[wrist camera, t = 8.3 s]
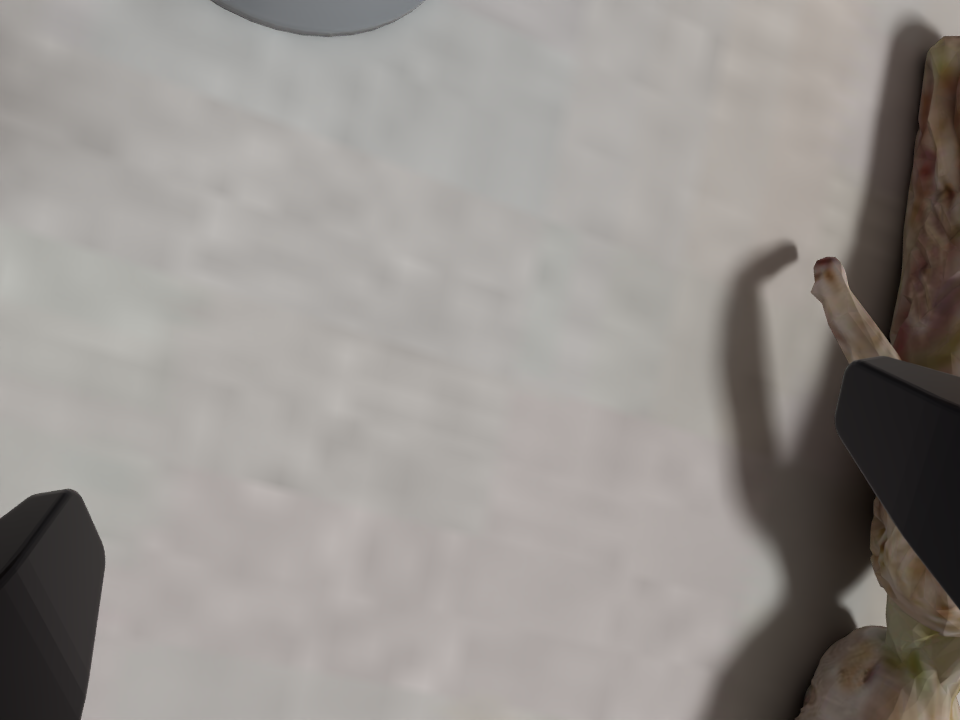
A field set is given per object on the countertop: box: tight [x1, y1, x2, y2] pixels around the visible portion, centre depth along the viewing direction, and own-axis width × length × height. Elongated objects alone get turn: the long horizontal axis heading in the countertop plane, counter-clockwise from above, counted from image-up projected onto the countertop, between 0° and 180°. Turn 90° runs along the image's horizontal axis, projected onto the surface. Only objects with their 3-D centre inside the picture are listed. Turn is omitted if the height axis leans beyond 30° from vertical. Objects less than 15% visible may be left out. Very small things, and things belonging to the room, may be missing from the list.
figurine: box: [795, 36, 960, 720], centre depth 26 cm, size 17×6×30 cm
